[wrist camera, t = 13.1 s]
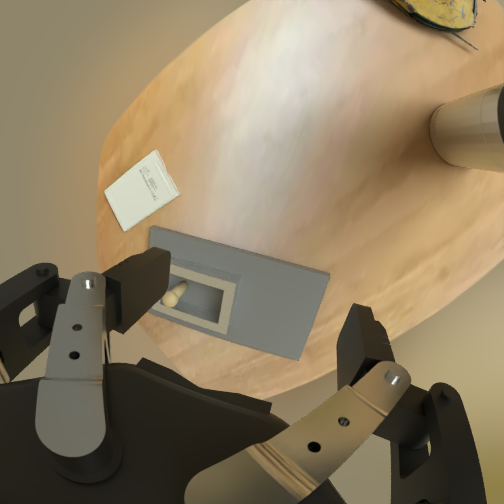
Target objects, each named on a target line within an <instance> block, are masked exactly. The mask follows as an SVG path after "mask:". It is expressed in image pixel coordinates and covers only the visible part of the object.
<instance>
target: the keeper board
mask: <svg viewBox="0 0 504 504" xmlns="http://www.w3.org/2000/svg"><path fill="white" fill-rule="evenodd" d="M154 246H155V247H158V248H161V249H165V250H168V251H170V253H171V255H173V256H177V257H180V258H183V259H187V260H190V261H193V262H197V263H200V264H203V265H207V266H210V267H214V268H217V269H221V270H224V271H228V272H231V273H235V274H238V275H242V276H241V281H240V286H239V291H238V296H237V301H236V306H235V311H234V316H233V321H232V325H231V327H230V329H229V331H228V332H227V334H226V335H225V334H222V333H219V332H216V331H213V330H210V329H207V328H204V327H201V326H198V325H195V324H192V323H189V322H187V321H184V320H181V319H178V318H175V317H173V316H170V315H167V314H165V313H162V312H159V311H157V310H154V309H152V307H151V308H150V309H149V310H148V311H147V312H149V313H152V314H154V315H157V316H159V317H162V318H165V319H167V320H170V321H173V322H175V323H178V324H181V325H183V326H186V327H189V328H192V329H195V330H197V331H200V332H203V333H206V334H209V335H212V336H215V337H218V338H221V339H224V340H227V341H231V342H234V343H237V344H240V345H243V346H247V347H250V348H253V349H257V350H260V351H264V352H267V353H271V354H274V355H278V356H282V357H286V358H289V359H293V360H297V361H299V358H300V356H301V353H302V351H303V348H304V346H305V343H306V341H307V338H308V336H309V333H310V331H311V328H312V325H313V323H314V320H315V317H316V315H317V312H318V309H319V307H320V304H321V301H322V298H323V295H324V293H325V290H326V287H327V284H328V281H329V278H330V273H326V272H323V271H319V270H315V269H312V268H308V267H304V266H301V265H297V264H293V263H290V262H286V261H282V260H279V259H275V258H271V257H268V256H264V255H260V254H257V253H253V252H249V251H246V250H242V249H238V248H235V247H231V246H228V245H224V244H220V243H217V242H213V241H209V240H206V239H202V238H198V237H195V236H191V235H187V234H184V233H180V232H176V231H173V230H169V229H165V228H162V227H158V226H152V227H150V240H149V249H150V248H152V247H154ZM223 294H224V290H221V289H218V288H215V287H212V286H208V285H205V284H202V283H199V282H195V281H192V280H189V279H186V278H183V277H180V276H177V275H173V274H170V280H169V291H167V292H166V293H165V295H164V296H163V297H162V302H163V304H164V305H165V306H167V307H174V306H175V305H176V304H177V303H178V299H179V300H182V301H185V302H188V303H191V304H194V305H197V306H200V307H203V308H206V309H209V310H212V311H215V312H218V313H220V311H221V305H222V300H223Z"/></svg>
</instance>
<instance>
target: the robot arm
mask: <svg viewBox="0 0 504 504" xmlns="http://www.w3.org/2000/svg"><path fill="white" fill-rule="evenodd" d="M430 137H431V140H432V143H433V146H434V148H435V150H436V151H437V153H438V154H439V156H440V157H441V158H442V159H443V160H445V161H446V162H447V163H449V164H451V165H453V166H458V167H466V168H473V169H480V170H487V171H494V172H500V173H504V83H503V84H500V85H497V86H494V87H491V88H488V89H485V90H482V91H479V92H476V93H474V94H471V95H468V96H465V97H462V98H460V99H457V100H454V101H451V102H449V103H446V104H444V105H441V106H440V107H438V108H437V109H436V110H435V111H434V113H433V115H432V117H431V121H430ZM170 263H171V253H170V251H168V250H165V249H161V248H158V247H155V246H154V247H152V248H150V249H149V250H147V251H145V252H143V253H141V254H137V255H133V256H130V257H128V258H127V259H125V260H124V261H122V262H120V263H118V265H115V266H113V267H112V268H110V269H108V270H107V271H105V272H103V273H102V274H100V273H97V272H82V273H78V274H76V275H75V276H74V277H73V278H72V279H71V280H69V279H64V278H59V275H58V268H57V267H56V265H54V264H51V263H39V264H35V265H33V266H31V267H29V268H28V269H26V270H24V271H22V272H21V273H19V274H17V275H15V276H14V277H12V278H10V279H9V280H7V281H5V282H4V283H2V284H1V285H0V504H346V503H345V501H344V500H343V498H342V497H341V495H340V494H339V493H338V491H337V490H336V489H335V487H334V486H333V484H332V483H331V482H330V480H329V479H328V478H329V477H330V476H331V475H332V474H333V473H334V472H335V471H336V470H338V469H339V467H341V466H342V465H343V464H344V463H345V462H346V461H347V460H348V459H349V458H350V457H351V456H352V455H353V454H354V452H355V451H356V450H357V449H358V448H359V447H360V446H361V445H362V444H363V443H364V442H365V441H366V440H367V439H368V438H369V436H370V435H371V434H374V435H377V436H379V437H382V438H384V439H387V440H389V441H390V446H391V504H487V501H486V495H485V488H484V482H483V477H482V472H481V467H480V463H479V459H478V454H477V450H476V446H475V442H474V438H473V435H472V431H471V428H470V424H469V421H468V418H467V415H466V412H465V409H464V406H463V402H462V400H461V397H460V395H459V394H458V392H457V391H456V390H455V389H454V388H453V387H451V386H450V385H448V384H446V383H441V382H439V383H435V384H433V385H432V387H431V388H430V390H429V391H426V390H423V389H421V388H419V387H416V386H414V385H412V384H411V377H410V375H409V373H408V372H407V370H406V369H405V368H403V367H402V366H401V365H399V364H397V363H395V359H394V356H393V352H392V349H391V346H390V342H389V339H388V336H387V332H386V329H385V328H384V327H383V326H382V324H381V323H380V322H379V321H375V320H374V316H373V313H372V309H371V307H367V306H363V305H359V304H355V303H354V304H353V305H352V307H351V309H350V311H349V313H348V316H347V318H346V321H345V323H344V325H343V328H342V330H341V332H340V334H339V337H338V341H337V377H338V378H337V379H338V380H337V382H338V392H336V393H335V394H334V395H333V396H331V397H330V398H329V399H327V400H326V401H325V402H324V403H322V404H321V405H320V406H318V407H317V408H315V409H314V410H313V411H311V412H310V413H309V414H307V415H306V416H304V417H303V418H302V419H300V420H299V421H297V422H296V423H294V424H293V425H291V426H290V425H289V424H287V423H286V422H285V421H283V420H282V419H280V418H279V417H277V416H276V415H274V414H272V413H270V410H271V406H272V403H271V402H266V401H263V400H259V399H256V398H252V397H249V396H246V395H242V394H239V393H231V392H223V391H216V390H209V389H203V388H200V387H198V386H196V385H195V384H193V383H192V382H190V381H188V380H187V379H185V378H184V377H182V376H181V375H179V374H178V373H176V372H174V371H173V370H171V369H169V368H166V367H164V366H162V365H159V364H157V363H154V362H152V361H150V360H148V359H145V358H142V359H141V360H140V361H139V362H138V364H137V365H134V364H128V363H112V361H111V342H110V331H111V330H115V331H117V332H119V333H122V334H124V333H125V332H126V331H127V330H128V329H129V328H130V327H131V326H132V325H133V324H135V323H136V322H137V321H138V320H139V319H140V318H141V317H142V316H143V315H144V314H145V313H146V312H147V311H148V310H149V309H150V308H151V307H152V306H153V305H155V304H156V303H157V302H158V301H159V300H160V299H161V298H162V297H163V296H164V295H165V293H166V291H167V289H168V285H169V275H170ZM32 303H33V304H34V309H35V313H36V316H35V317H33V318H32V319H31V320H29V321H28V322H27V323H25V324H24V325H23V326H22V327H20V325H19V315H20V313H21V311H22V310H23V309H25V308H26V307H27V306H29V305H30V304H32ZM49 345H50V346H49ZM48 346H49V353H48V358H47V365H46V371H45V376H44V377H39V378H34V379H28V380H22V381H16V382H11V381H12V380H13V379H14V378H15V377H16V376H17V375H18V374H19V373H20V372H21V371H22V370H23V369H24V368H25V367H26V366H28V365H29V364H30V363H31V362H32V361H33V360H34V359H35V358H36V357H37V356H38V355H39V354H40V353H41V352H43V351H44V350H45V349H46V348H47V347H48ZM429 441H430V444H431V453H430V456H429V452H428V446H427V443H428V442H429Z"/></svg>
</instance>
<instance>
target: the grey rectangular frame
mask: <svg viewBox="0 0 504 504" xmlns="http://www.w3.org/2000/svg"><path fill="white" fill-rule="evenodd" d="M170 274H173V275H177V276H180V277H183V278H186V279H189V280H192V281H195V282H199V283H202V284H205V285H208V286H212V287H215V288H218V289H221V290H224V294H223V300H222V305H221V311H220V313H218V312H215V311H212V310H209V309H206V308H203V307H200V306H197V305H194V304H191V303H188V302H185V301H182V300H179V299H178V303H177V304H176V305H175V306H174V307H167V306H165V305H164V304H163V302H162V298H161V299H160V300H159V301H158V302H157V303H156V304H155V305H153V306H152V309H154V310H157V311H159V312H162V313H165V314H167V315H170V316H173V317H175V318H178V319H181V320H184V321H187V322H189V323H192V324H195V325H198V326H201V327H204V328H207V329H210V330H213V331H216V332H219V333H222V334H225V335H226V334H227V332H228V331H229V329H230V327H231V325H232V321H233V316H234V311H235V306H236V301H237V296H238V291H239V286H240V281H241V276H242V275H238V274H235V273H231V272H228V271H224V270H221V269H217V268H214V267H210V266H207V265H203V264H200V263H197V262H193V261H190V260H187V259H183V258H180V257H177V256H173V255H171V263H170ZM169 280H170V275H169ZM167 291H169V285H168V289H167ZM167 291H166V292H167Z"/></svg>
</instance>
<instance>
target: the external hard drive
mask: <svg viewBox="0 0 504 504" xmlns="http://www.w3.org/2000/svg"><path fill="white" fill-rule="evenodd" d="M104 192H105V195H106V197H107V199H108V201H109V203H110V205H111V207H112V209H113V212H114V213H115V216H116V218H117V219H118V221H119V223H120V225H121V227H122V229H123V231H124V232H126V231H128V230H129V229H131V228H132V227H134V226H135V225H137V224H138V223H139V222H141V221H142V220H144V219H145V218H147V217H148V216H149V215H151V214H152V213H154V212H155V211H157V210H158V209H160V208H161V207H163V206H164V205H166V204H167V203H169V202H170V201H172V200H173V199H175V198H177V197H178V196H180V195H181V194H180V193H179V191H178V189H177V187H176V185H175V183H174V181H173V180H172V178H171V176H170V175H169V174H168V172H167V170H166V166H165V164H164V162H163V161H162V159H161V157H160V155H159V153H158V151H157V150H154V151H152V152H151V153H150V154H148V155H147V156H146V157H144V158H143V159H142V160H141V161H139V162H138V163H137V164H136V165H134V166H133V167H132V168H131V169H129V170H128V171H127V172H126V173H125V174H123V175H122V176H121V177H120V178H119V179H117V180H116V181H115V182H114V183H113V184H112V185H111V186H109V187H108V188H107V189H106V190H105V191H104Z"/></svg>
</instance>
